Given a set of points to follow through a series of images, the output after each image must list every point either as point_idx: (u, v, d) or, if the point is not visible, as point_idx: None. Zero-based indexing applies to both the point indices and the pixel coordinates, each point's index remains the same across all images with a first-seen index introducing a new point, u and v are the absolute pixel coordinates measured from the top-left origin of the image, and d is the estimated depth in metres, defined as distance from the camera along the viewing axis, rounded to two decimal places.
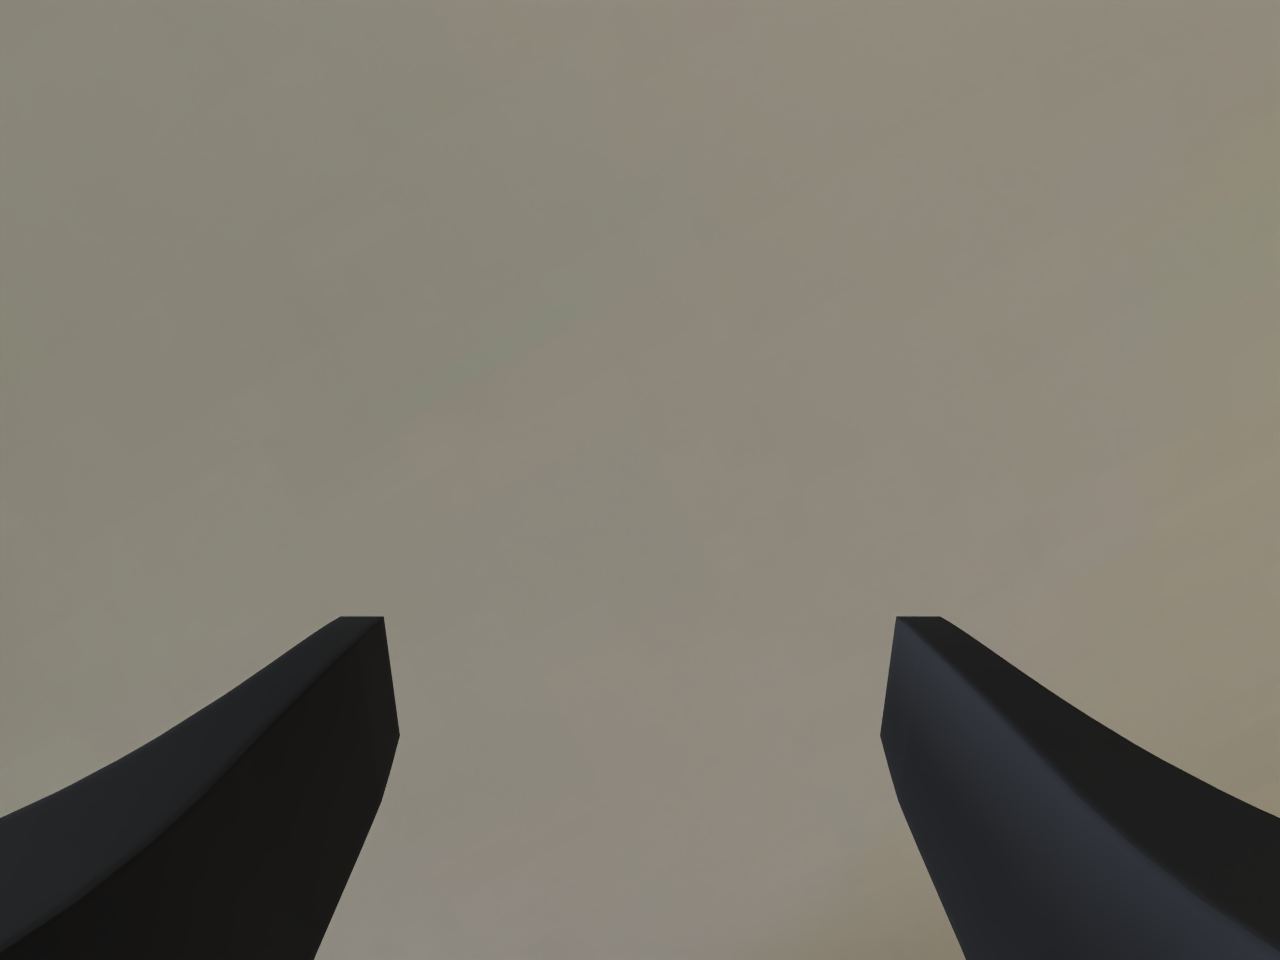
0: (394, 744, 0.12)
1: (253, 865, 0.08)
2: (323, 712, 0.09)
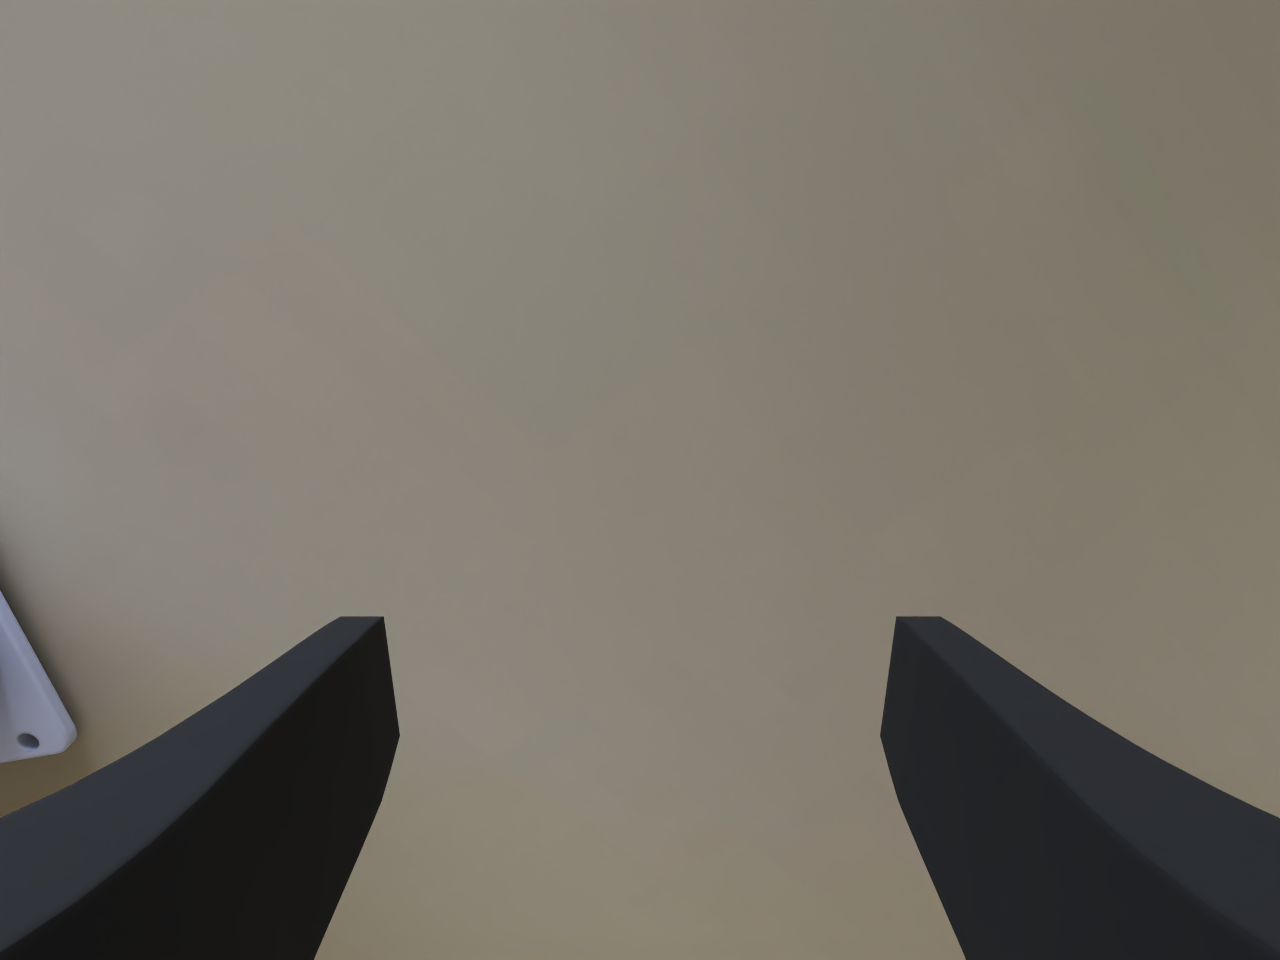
0: (394, 744, 0.12)
1: (253, 865, 0.08)
2: (323, 712, 0.09)
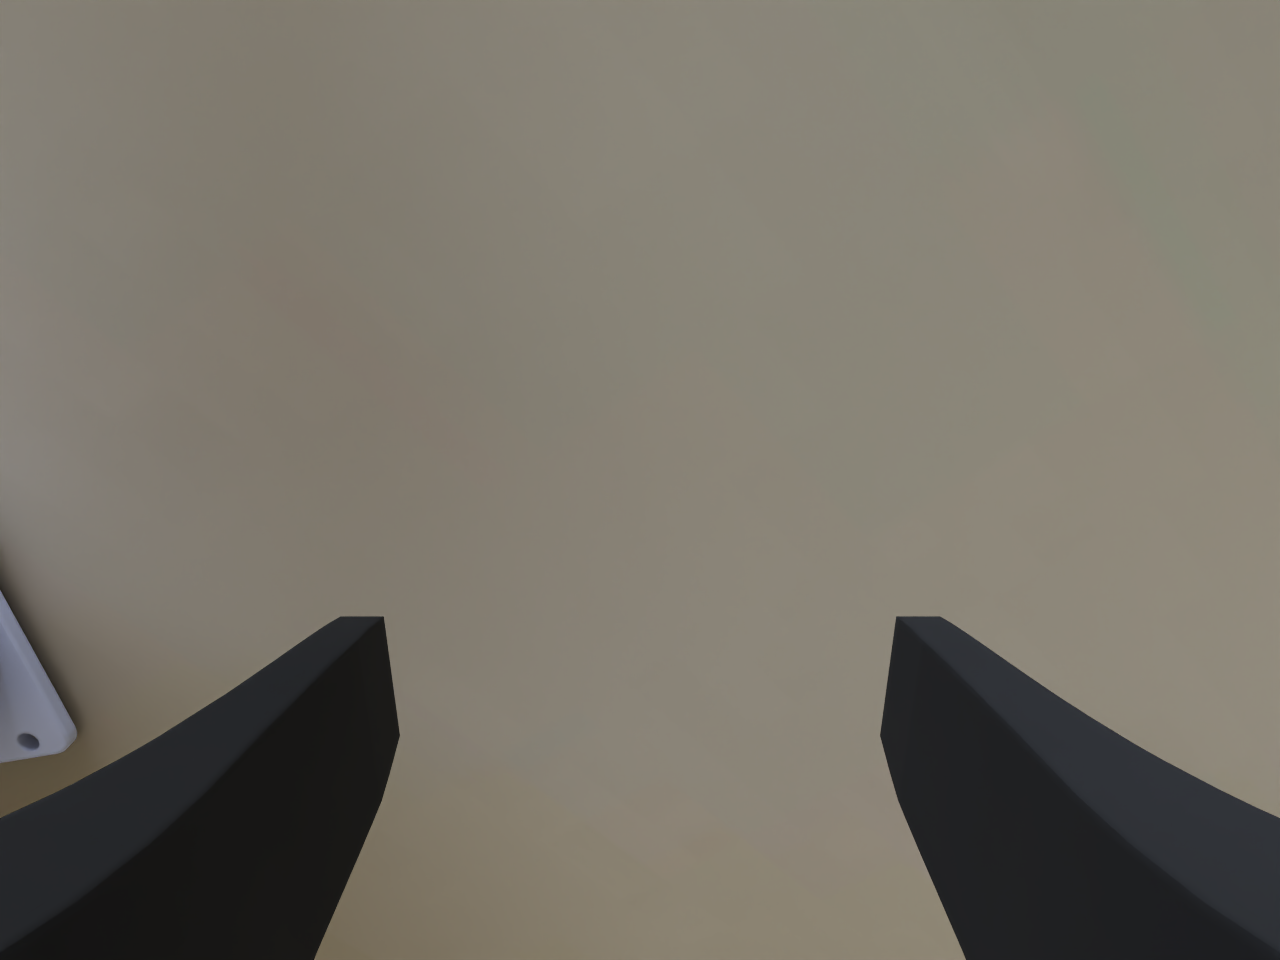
0: (394, 744, 0.12)
1: (253, 865, 0.08)
2: (323, 712, 0.09)
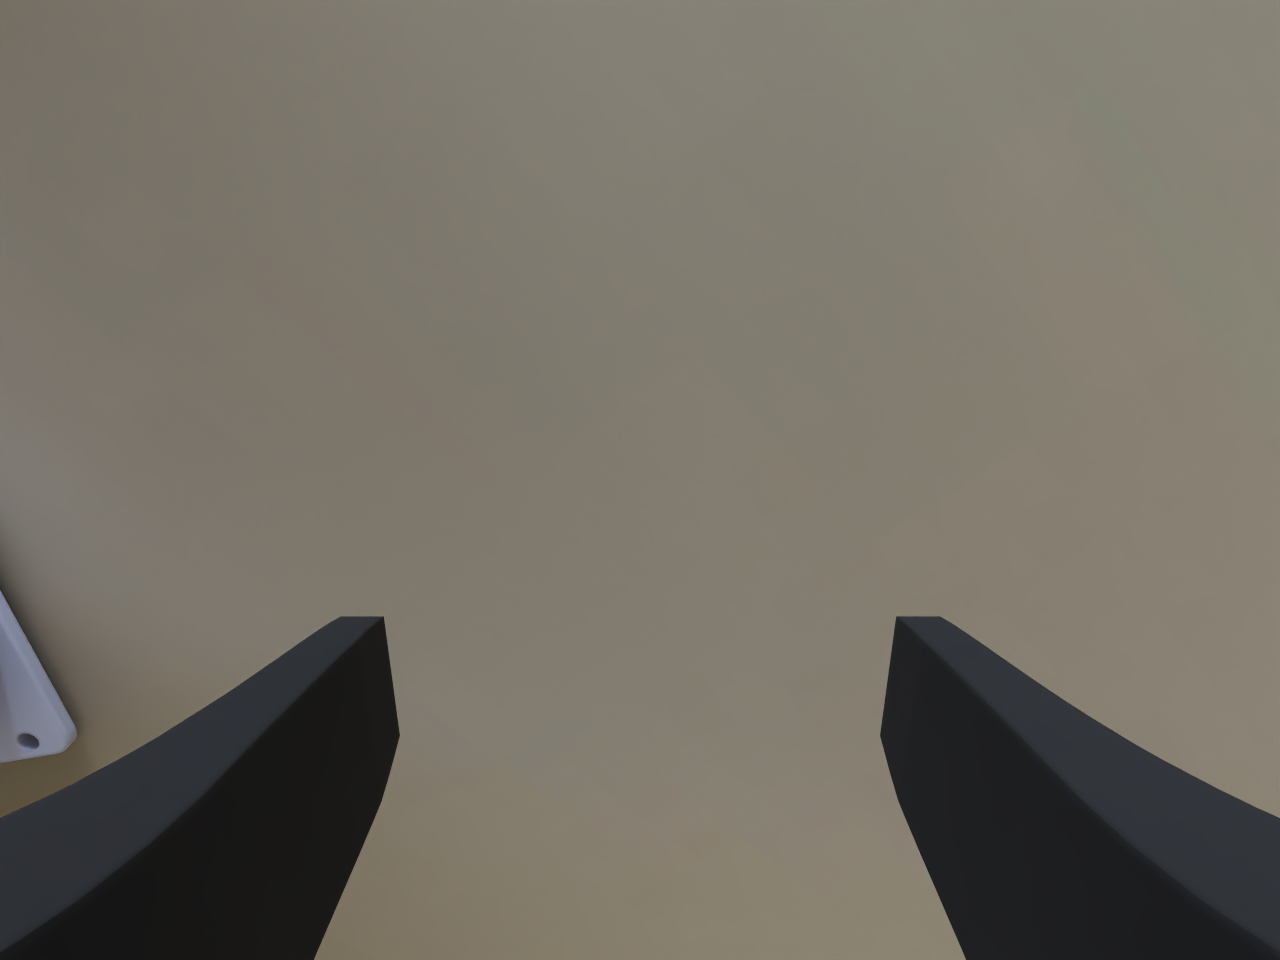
0: (394, 744, 0.12)
1: (253, 865, 0.08)
2: (323, 712, 0.09)
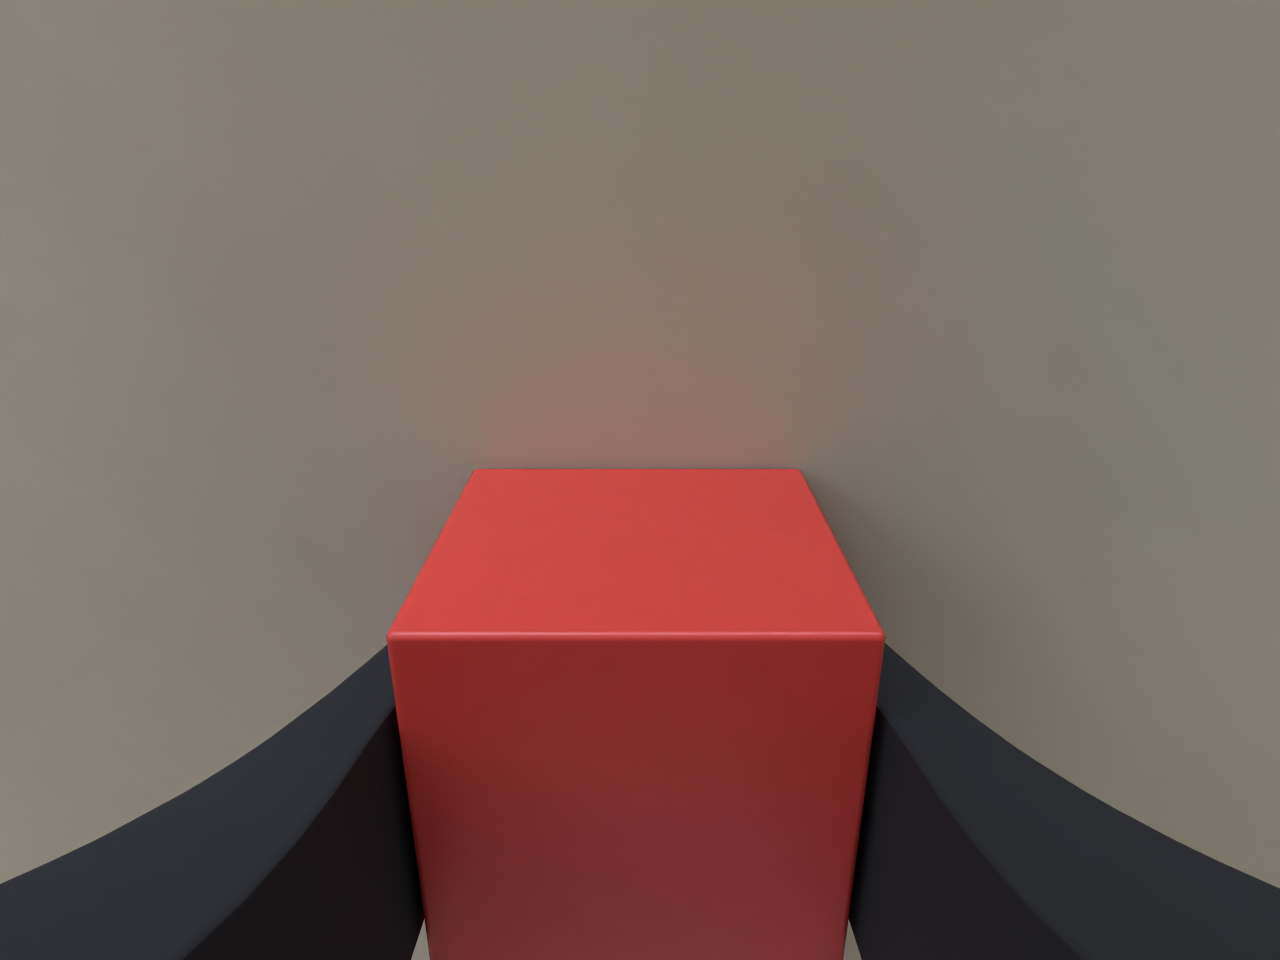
0: None
1: (368, 865, 0.08)
2: None
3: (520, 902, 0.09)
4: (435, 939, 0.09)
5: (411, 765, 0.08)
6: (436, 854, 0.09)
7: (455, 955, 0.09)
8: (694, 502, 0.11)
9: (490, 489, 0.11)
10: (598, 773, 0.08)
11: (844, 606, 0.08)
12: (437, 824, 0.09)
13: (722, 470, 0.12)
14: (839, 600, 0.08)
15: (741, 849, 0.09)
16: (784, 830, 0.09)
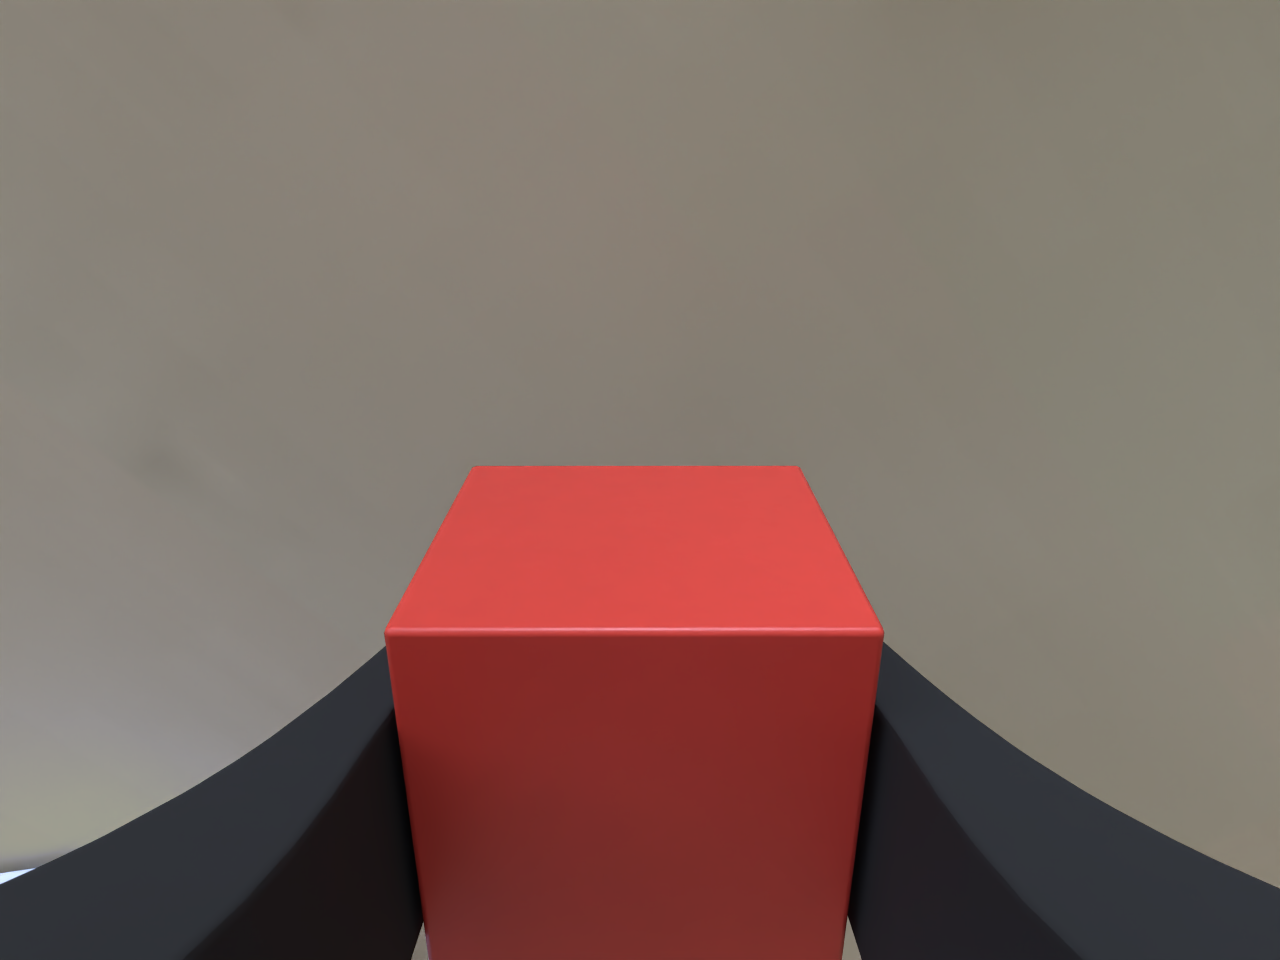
0: None
1: (368, 865, 0.08)
2: None
3: (517, 898, 0.09)
4: (433, 936, 0.09)
5: (409, 761, 0.08)
6: (434, 851, 0.09)
7: (453, 952, 0.09)
8: (693, 499, 0.11)
9: (488, 486, 0.11)
10: (596, 769, 0.08)
11: (843, 602, 0.08)
12: (435, 820, 0.09)
13: (721, 467, 0.12)
14: (838, 596, 0.08)
15: (739, 846, 0.09)
16: (783, 826, 0.09)
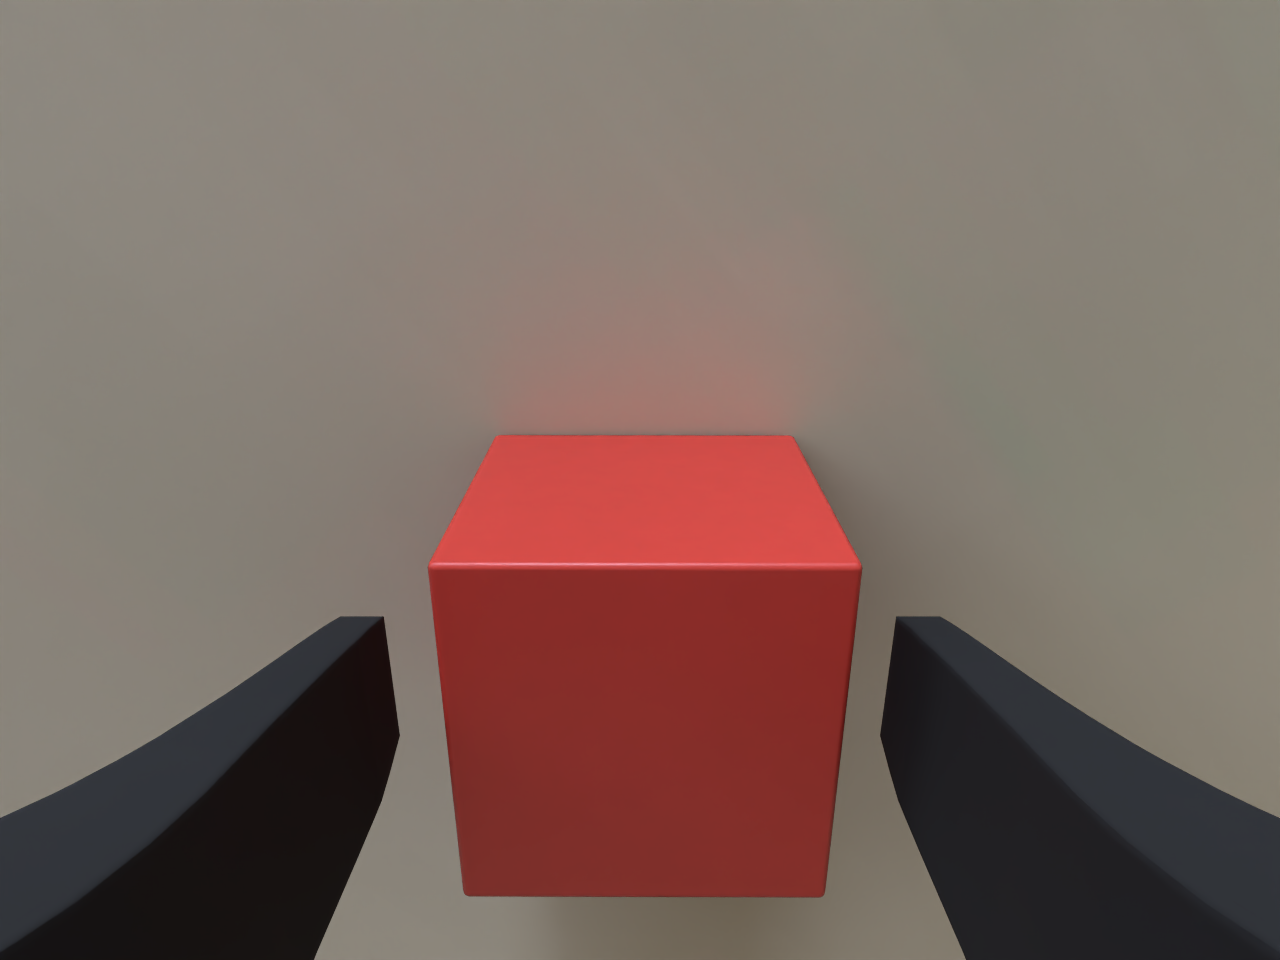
0: (394, 744, 0.12)
1: (253, 865, 0.08)
2: (323, 712, 0.09)
3: (541, 809, 0.10)
4: (465, 844, 0.10)
5: (447, 683, 0.09)
6: (468, 765, 0.10)
7: (483, 859, 0.10)
8: (696, 462, 0.12)
9: (512, 452, 0.12)
10: (611, 690, 0.09)
11: (827, 543, 0.09)
12: (469, 737, 0.10)
13: (722, 436, 0.13)
14: (823, 539, 0.09)
15: (736, 761, 0.10)
16: (775, 743, 0.10)
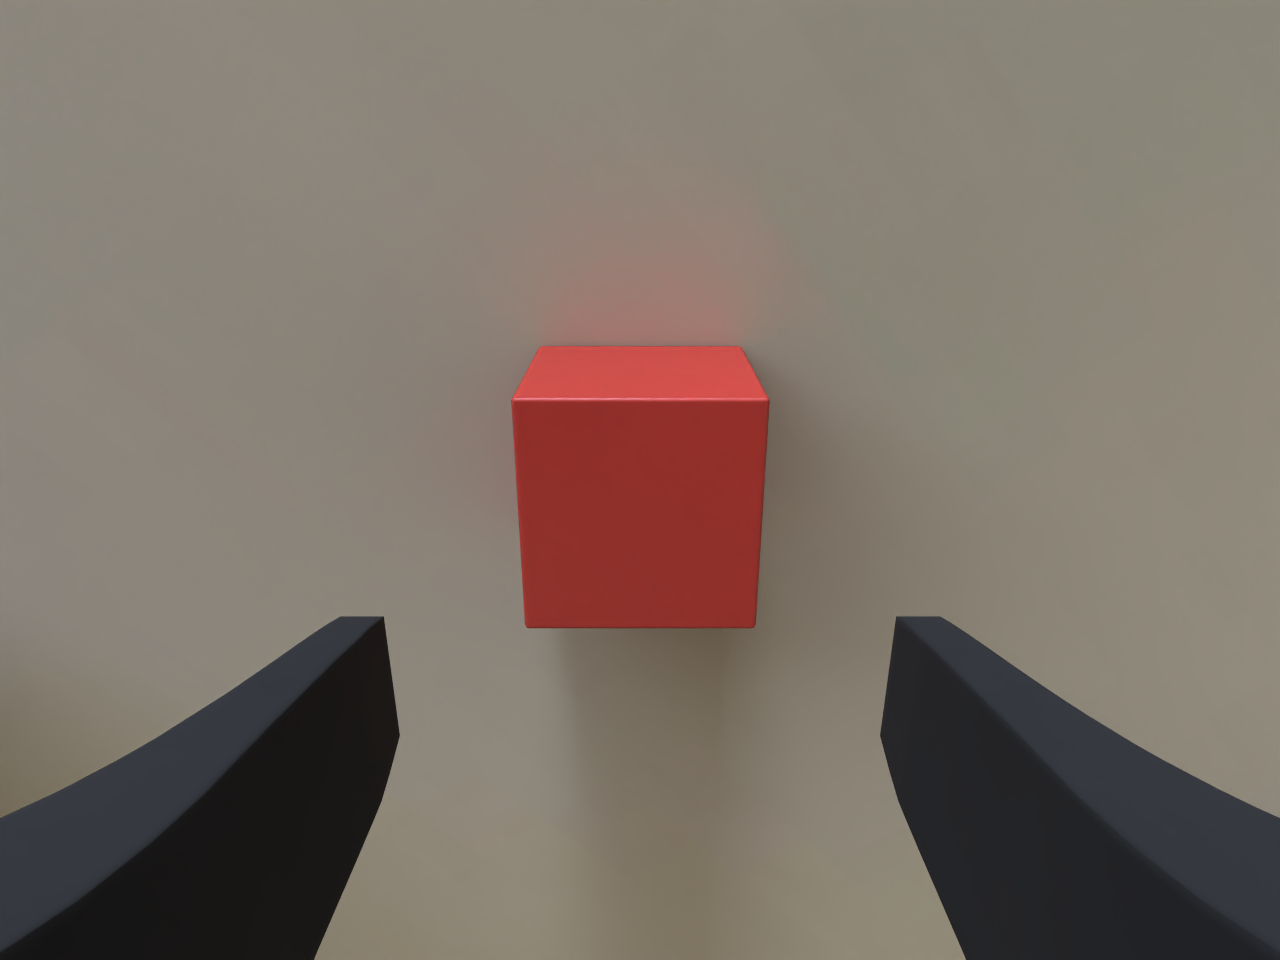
0: (394, 744, 0.12)
1: (253, 865, 0.08)
2: (323, 712, 0.09)
3: (575, 563, 0.16)
4: (528, 589, 0.17)
5: (521, 476, 0.16)
6: (531, 532, 0.16)
7: (539, 600, 0.17)
8: (674, 358, 0.18)
9: (552, 353, 0.18)
10: (619, 481, 0.16)
11: (750, 390, 0.15)
12: (533, 513, 0.16)
13: (693, 346, 0.19)
14: (748, 389, 0.16)
15: (697, 530, 0.16)
16: (720, 517, 0.16)
